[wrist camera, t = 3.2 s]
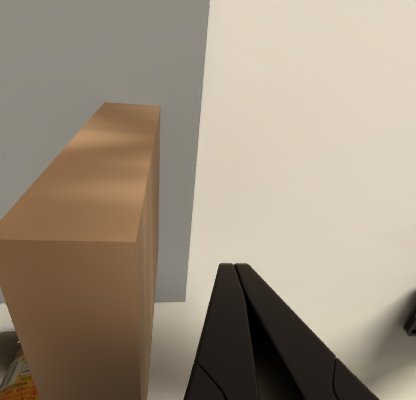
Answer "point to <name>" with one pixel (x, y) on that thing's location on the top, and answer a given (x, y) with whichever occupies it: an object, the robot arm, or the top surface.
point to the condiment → (14, 370)
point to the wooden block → (88, 260)
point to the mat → (105, 97)
